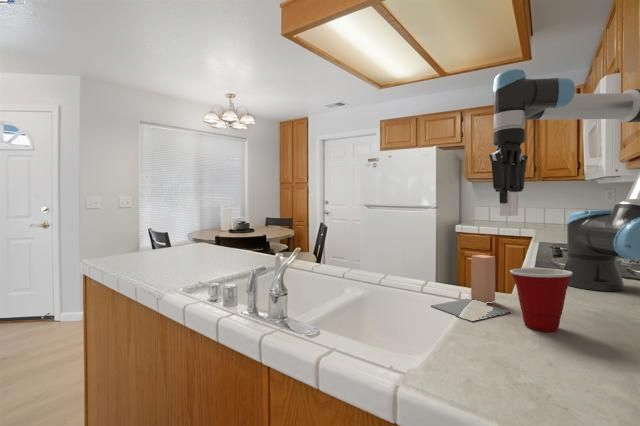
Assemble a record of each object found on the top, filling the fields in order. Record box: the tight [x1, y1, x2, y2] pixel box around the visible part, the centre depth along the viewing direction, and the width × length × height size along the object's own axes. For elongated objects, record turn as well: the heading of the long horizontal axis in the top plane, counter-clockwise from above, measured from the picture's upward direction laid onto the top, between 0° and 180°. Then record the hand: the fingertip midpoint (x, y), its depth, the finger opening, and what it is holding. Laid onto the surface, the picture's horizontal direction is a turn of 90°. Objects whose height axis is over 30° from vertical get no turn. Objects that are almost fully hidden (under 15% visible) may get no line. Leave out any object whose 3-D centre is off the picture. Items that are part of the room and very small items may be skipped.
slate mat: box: [430, 298, 511, 319], centre depth 79 cm, size 13×12×1 cm
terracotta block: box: [470, 254, 496, 303], centre depth 86 cm, size 4×4×12 cm
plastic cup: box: [509, 267, 572, 333], centre depth 68 cm, size 11×11×12 cm
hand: (508, 215), depth 90 cm, fingers open, 2 cm apart
